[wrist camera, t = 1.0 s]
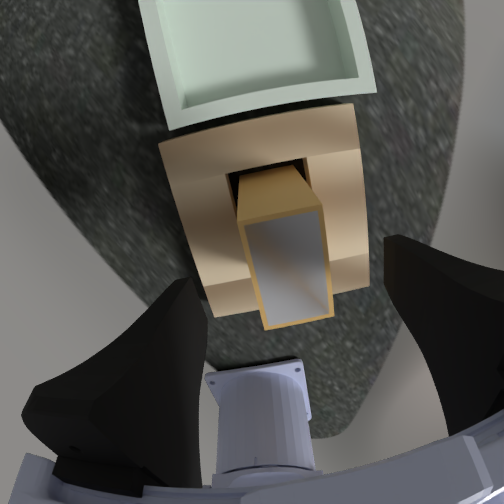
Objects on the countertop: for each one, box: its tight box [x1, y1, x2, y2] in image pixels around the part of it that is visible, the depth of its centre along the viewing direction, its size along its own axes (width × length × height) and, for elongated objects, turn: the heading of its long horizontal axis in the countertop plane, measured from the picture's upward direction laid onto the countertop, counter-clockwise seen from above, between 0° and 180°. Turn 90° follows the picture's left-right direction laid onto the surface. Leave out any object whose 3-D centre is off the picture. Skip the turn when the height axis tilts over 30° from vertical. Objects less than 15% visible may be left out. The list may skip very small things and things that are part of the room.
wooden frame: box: [158, 103, 369, 317], centre depth 17 cm, size 11×10×2 cm
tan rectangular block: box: [237, 165, 334, 330], centre depth 15 cm, size 5×3×7 cm, turn 12°
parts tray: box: [138, 0, 377, 131], centre depth 12 cm, size 10×10×2 cm
